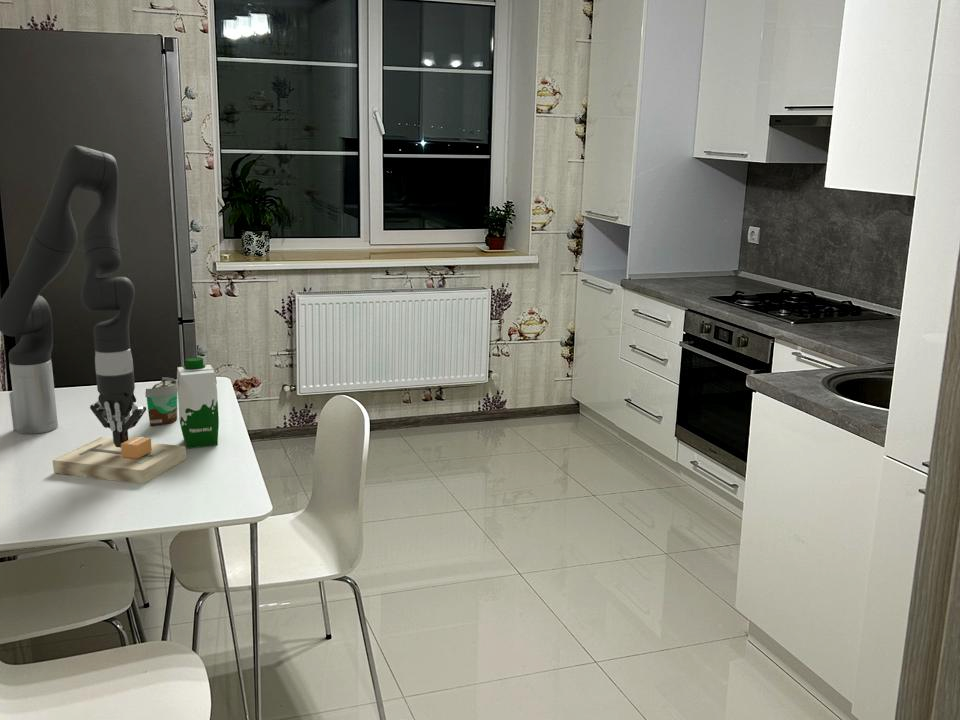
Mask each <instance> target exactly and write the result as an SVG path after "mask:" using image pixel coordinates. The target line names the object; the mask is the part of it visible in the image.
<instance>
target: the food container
mask: <svg viewBox="0 0 960 720" xmlns="http://www.w3.org/2000/svg"><path fill="white" fill-rule="evenodd" d="M144 394H145V398H146V405H147V412H148V419H149V426H150V427H159V426H166V425H169V424H173V423H175V422H177V420H178V386H177V378H176V379H175V378H172V377H168V376H167V377H163V376H162V377H161V381H160V382H159V383H155V384H154V385H153V386H152V387H151V388H145V393H144Z"/></svg>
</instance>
